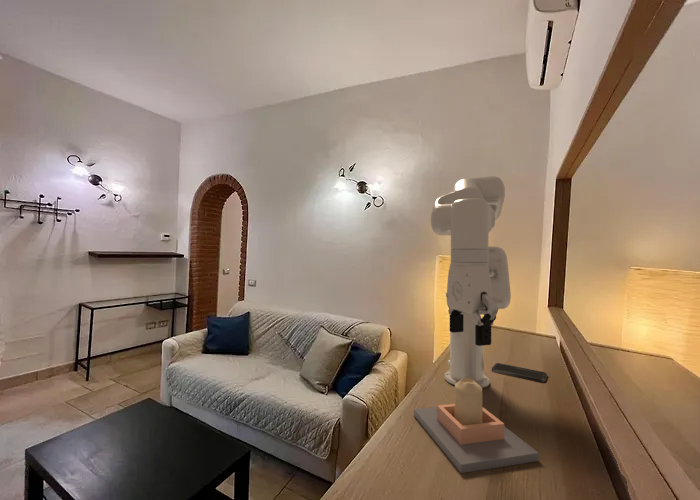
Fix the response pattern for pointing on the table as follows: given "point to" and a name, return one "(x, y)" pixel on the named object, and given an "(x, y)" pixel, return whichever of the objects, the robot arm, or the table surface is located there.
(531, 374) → the phone
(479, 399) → the candle
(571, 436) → the table surface
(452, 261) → the robot arm
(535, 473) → the table surface
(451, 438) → the candle stand
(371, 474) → the table surface
